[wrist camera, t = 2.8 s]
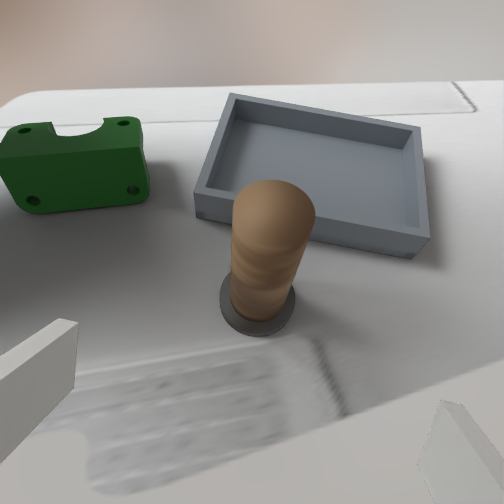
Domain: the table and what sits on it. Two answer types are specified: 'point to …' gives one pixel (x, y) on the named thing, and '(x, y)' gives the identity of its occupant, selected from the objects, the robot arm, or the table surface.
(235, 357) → the table surface
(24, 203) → the clamp
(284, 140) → the tray
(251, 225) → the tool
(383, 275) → the table surface
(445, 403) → the robot arm
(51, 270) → the table surface
